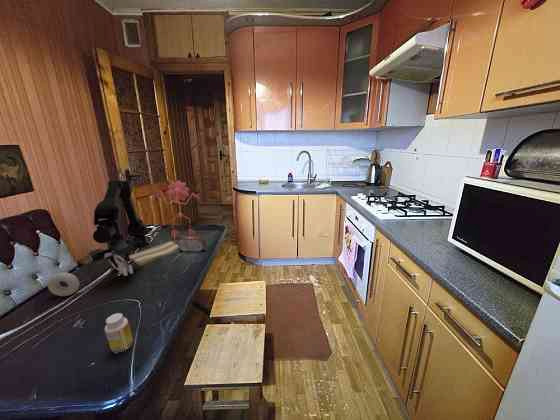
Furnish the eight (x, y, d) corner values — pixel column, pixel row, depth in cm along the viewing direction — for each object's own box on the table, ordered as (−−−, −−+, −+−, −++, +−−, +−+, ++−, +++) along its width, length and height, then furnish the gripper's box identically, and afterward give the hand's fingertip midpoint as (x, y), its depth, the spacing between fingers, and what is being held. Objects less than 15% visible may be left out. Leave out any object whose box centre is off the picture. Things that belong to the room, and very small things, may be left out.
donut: (84, 290, 96) (77, 269, 93) (79, 295, 93) (72, 273, 90) (55, 294, 94) (47, 272, 91) (49, 300, 91) (41, 277, 88)
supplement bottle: (129, 335, 73) (122, 308, 70) (136, 344, 70) (128, 316, 67) (108, 347, 69) (99, 319, 66) (114, 358, 66) (105, 328, 63)
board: (129, 258, 121) (128, 255, 120) (170, 243, 137) (170, 240, 137) (140, 266, 113) (139, 263, 113) (182, 249, 129) (182, 246, 129)
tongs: (109, 263, 109) (107, 255, 108) (117, 260, 112) (115, 252, 111) (124, 276, 98) (122, 267, 97) (133, 272, 101) (131, 264, 100)
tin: (207, 250, 128) (205, 235, 125) (204, 252, 125) (202, 238, 122) (180, 249, 129) (178, 235, 127) (177, 252, 126) (175, 237, 124)
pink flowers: (204, 239, 141) (196, 181, 131) (159, 242, 138) (148, 183, 129) (209, 230, 156) (202, 177, 146) (168, 233, 153) (159, 179, 143)
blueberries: (91, 315, 83) (90, 310, 83) (98, 324, 78) (96, 319, 78) (67, 326, 78) (65, 322, 78) (72, 337, 73) (70, 332, 73)
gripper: (91, 246, 88) (102, 282, 92) (144, 230, 102) (151, 262, 106) (83, 239, 94) (93, 273, 99) (133, 225, 108) (140, 255, 113)
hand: (121, 266), depth 104 cm, fingers closed on tongs, 3 cm apart
